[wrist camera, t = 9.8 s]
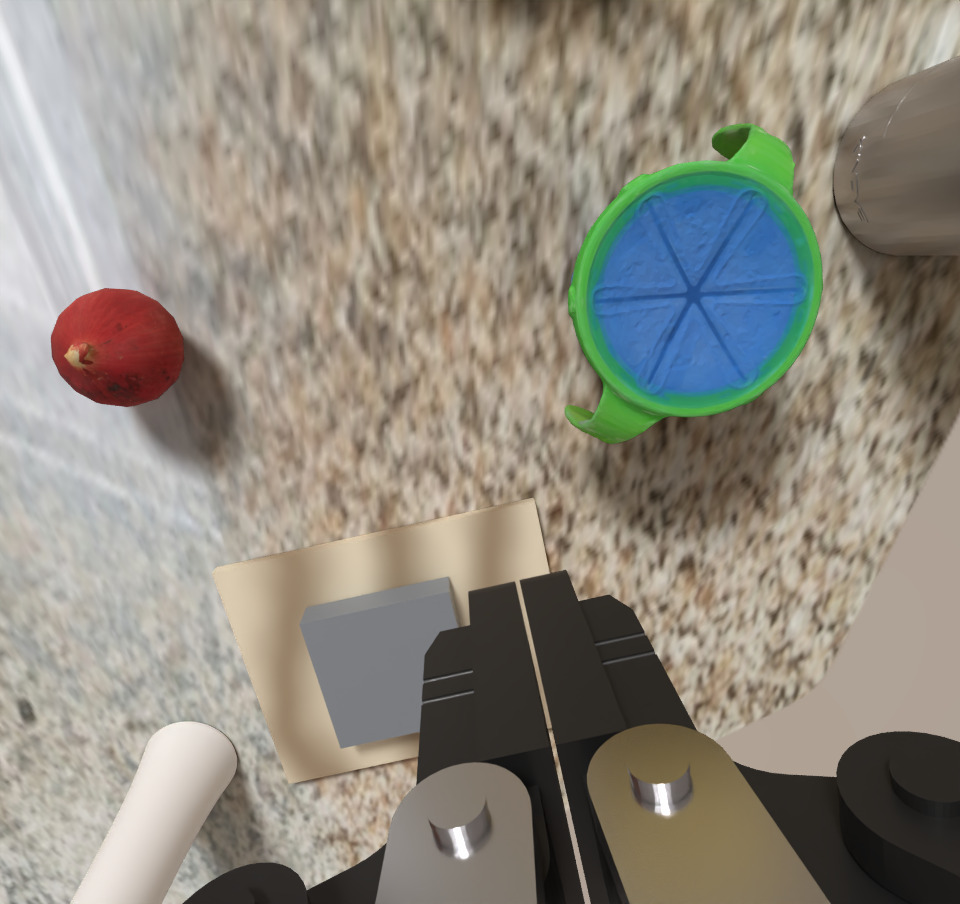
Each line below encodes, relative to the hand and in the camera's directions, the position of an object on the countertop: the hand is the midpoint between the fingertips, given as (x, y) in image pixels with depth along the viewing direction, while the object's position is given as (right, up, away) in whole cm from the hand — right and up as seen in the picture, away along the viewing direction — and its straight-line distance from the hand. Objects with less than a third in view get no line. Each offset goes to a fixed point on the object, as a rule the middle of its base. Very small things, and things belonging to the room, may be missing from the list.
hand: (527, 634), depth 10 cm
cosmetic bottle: (-20, -18, +35) cm, 44 cm away
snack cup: (+8, +12, +27) cm, 31 cm away
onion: (-19, +9, +27) cm, 34 cm away
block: (-2, -9, +31) cm, 32 cm away
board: (-5, -10, +33) cm, 35 cm away
